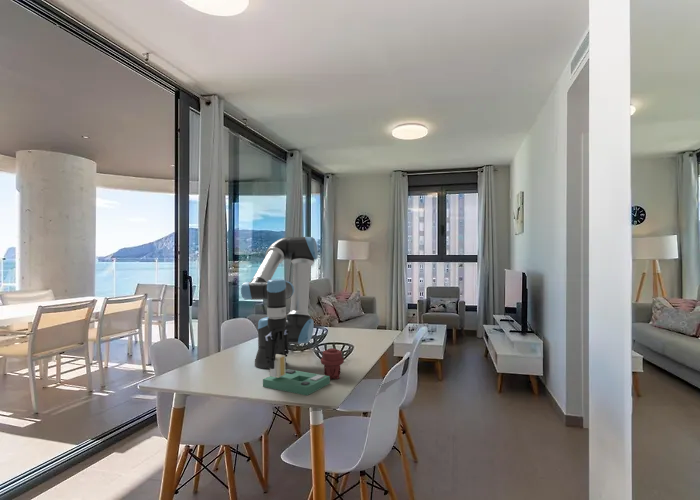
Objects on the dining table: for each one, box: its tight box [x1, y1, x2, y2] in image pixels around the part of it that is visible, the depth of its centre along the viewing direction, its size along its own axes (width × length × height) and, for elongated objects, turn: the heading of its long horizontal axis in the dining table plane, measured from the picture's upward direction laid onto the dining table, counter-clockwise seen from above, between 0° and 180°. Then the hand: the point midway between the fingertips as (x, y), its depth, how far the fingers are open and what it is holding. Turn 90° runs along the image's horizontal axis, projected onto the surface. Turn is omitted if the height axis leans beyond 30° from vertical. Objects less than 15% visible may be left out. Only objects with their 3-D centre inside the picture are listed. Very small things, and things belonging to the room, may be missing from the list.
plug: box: [272, 354, 286, 378], centre depth 162 cm, size 5×4×8 cm
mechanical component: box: [320, 347, 345, 380], centre depth 172 cm, size 12×10×10 cm
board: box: [262, 368, 331, 396], centre depth 163 cm, size 22×16×4 cm
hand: (277, 374), depth 162 cm, fingers closed on plug, 4 cm apart
